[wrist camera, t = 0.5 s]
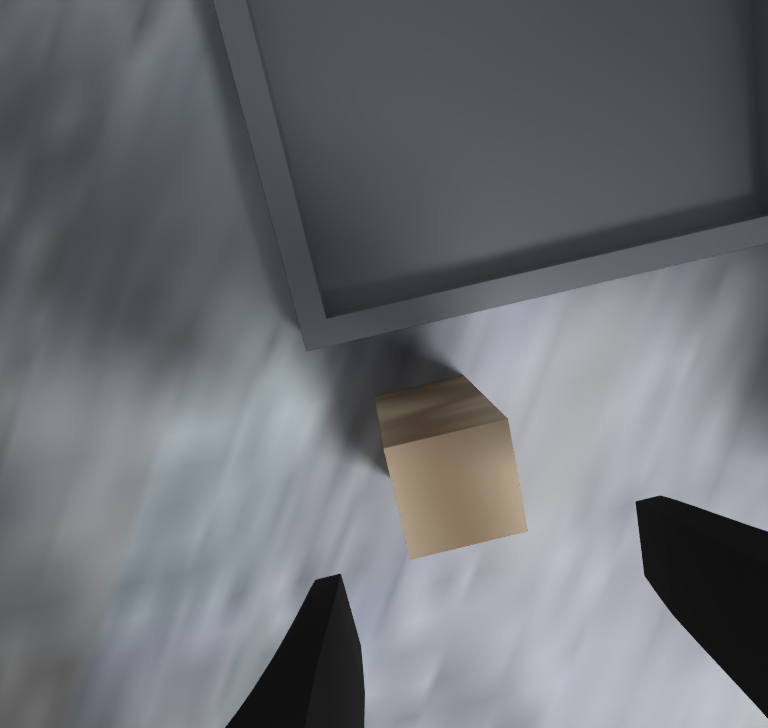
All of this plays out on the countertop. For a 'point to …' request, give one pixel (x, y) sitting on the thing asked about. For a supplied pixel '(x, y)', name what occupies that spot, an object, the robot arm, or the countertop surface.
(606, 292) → the countertop surface
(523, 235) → the tray
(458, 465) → the maple block
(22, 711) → the countertop surface
